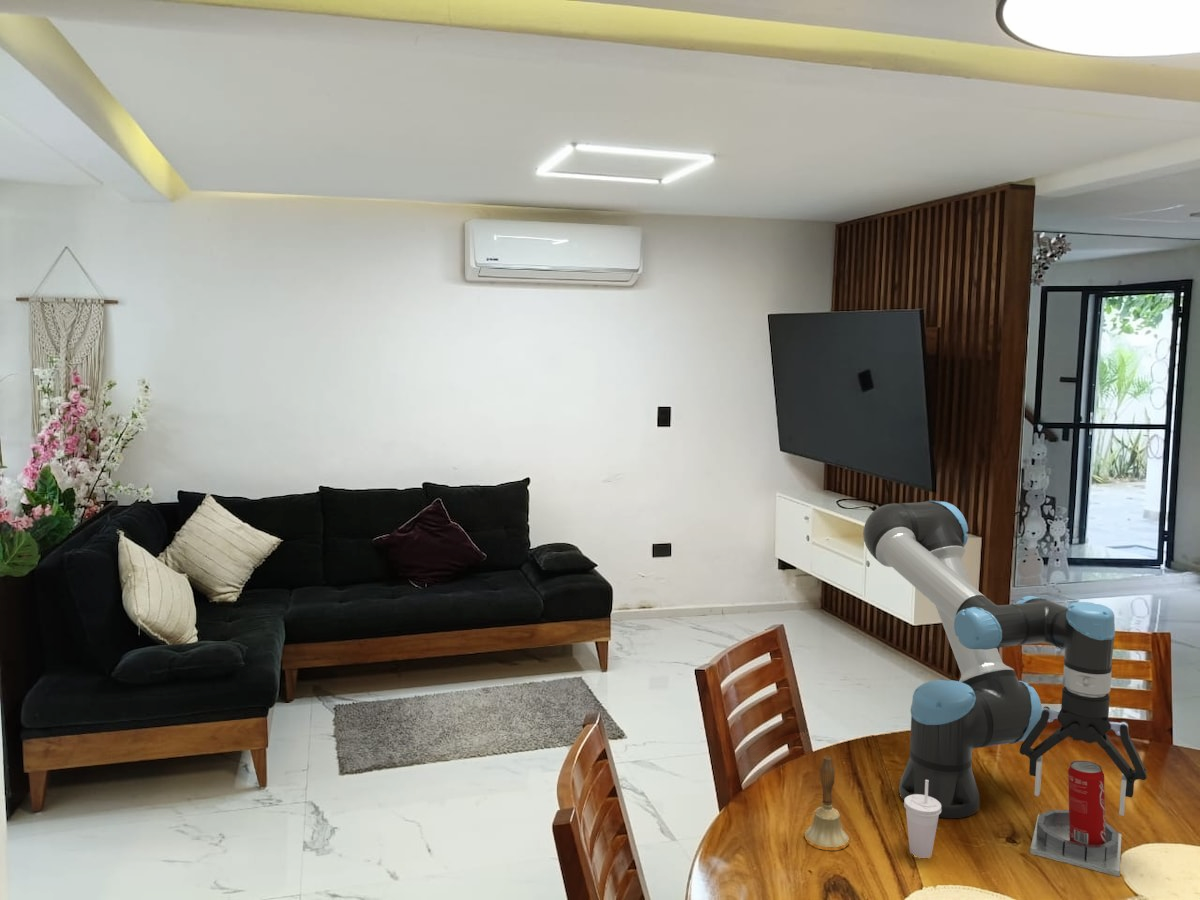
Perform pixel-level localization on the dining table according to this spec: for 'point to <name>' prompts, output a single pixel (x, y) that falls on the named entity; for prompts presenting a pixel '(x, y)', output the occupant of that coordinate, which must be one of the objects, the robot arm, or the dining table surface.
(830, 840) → the hand bell
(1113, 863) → the collar
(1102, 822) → the beverage can
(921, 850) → the smoothie
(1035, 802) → the dining table surface
